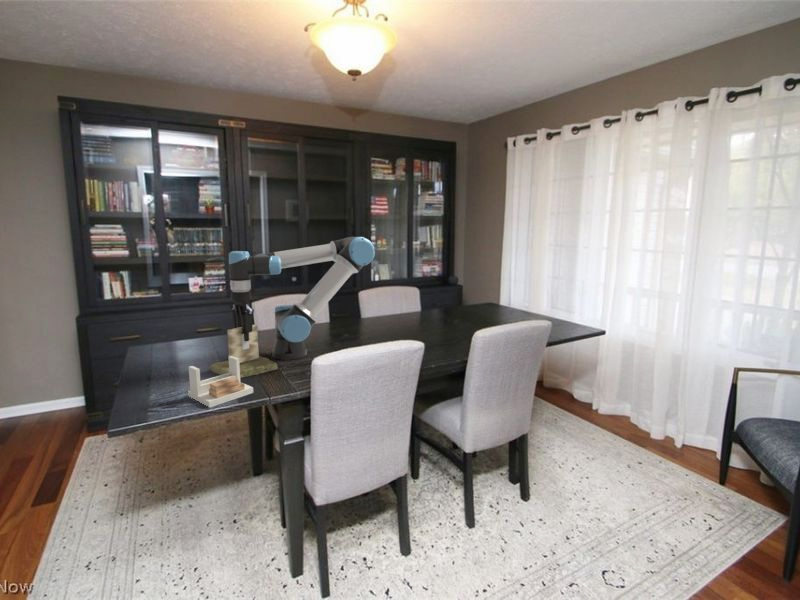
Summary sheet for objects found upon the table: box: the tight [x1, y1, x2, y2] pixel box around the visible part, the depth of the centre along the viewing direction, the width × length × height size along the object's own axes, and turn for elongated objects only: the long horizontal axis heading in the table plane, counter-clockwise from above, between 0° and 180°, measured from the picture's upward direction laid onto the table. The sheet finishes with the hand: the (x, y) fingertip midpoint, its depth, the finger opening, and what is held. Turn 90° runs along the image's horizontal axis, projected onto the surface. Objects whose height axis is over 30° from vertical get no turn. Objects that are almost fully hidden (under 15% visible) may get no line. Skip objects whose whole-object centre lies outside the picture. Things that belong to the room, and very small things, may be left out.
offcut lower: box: [209, 381, 245, 398], centre depth 142 cm, size 10×5×2 cm, turn 142°
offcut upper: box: [210, 377, 239, 392], centre depth 141 cm, size 8×4×2 cm, turn 142°
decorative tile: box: [210, 355, 278, 379], centre depth 171 cm, size 19×20×4 cm
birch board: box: [226, 323, 260, 363], centre depth 169 cm, size 12×2×14 cm, turn 142°
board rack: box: [187, 355, 254, 408], centre depth 144 cm, size 16×14×11 cm
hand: (243, 348), depth 170 cm, fingers closed on birch board, 2 cm apart
